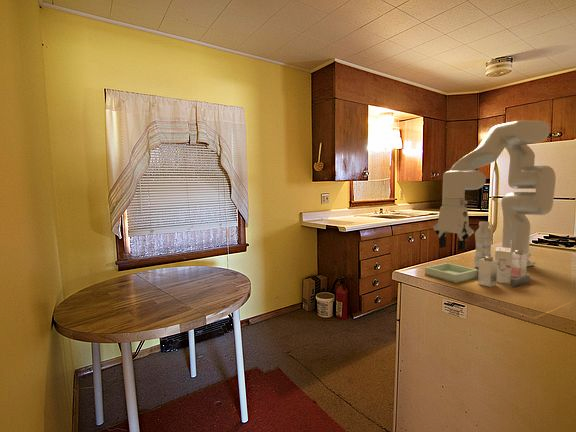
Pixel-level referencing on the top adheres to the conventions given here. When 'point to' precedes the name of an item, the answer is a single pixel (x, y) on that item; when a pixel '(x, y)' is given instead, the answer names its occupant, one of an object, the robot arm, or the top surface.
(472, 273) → the tray
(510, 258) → the ink cartridge box
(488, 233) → the plastic bottle
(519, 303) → the top surface
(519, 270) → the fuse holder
